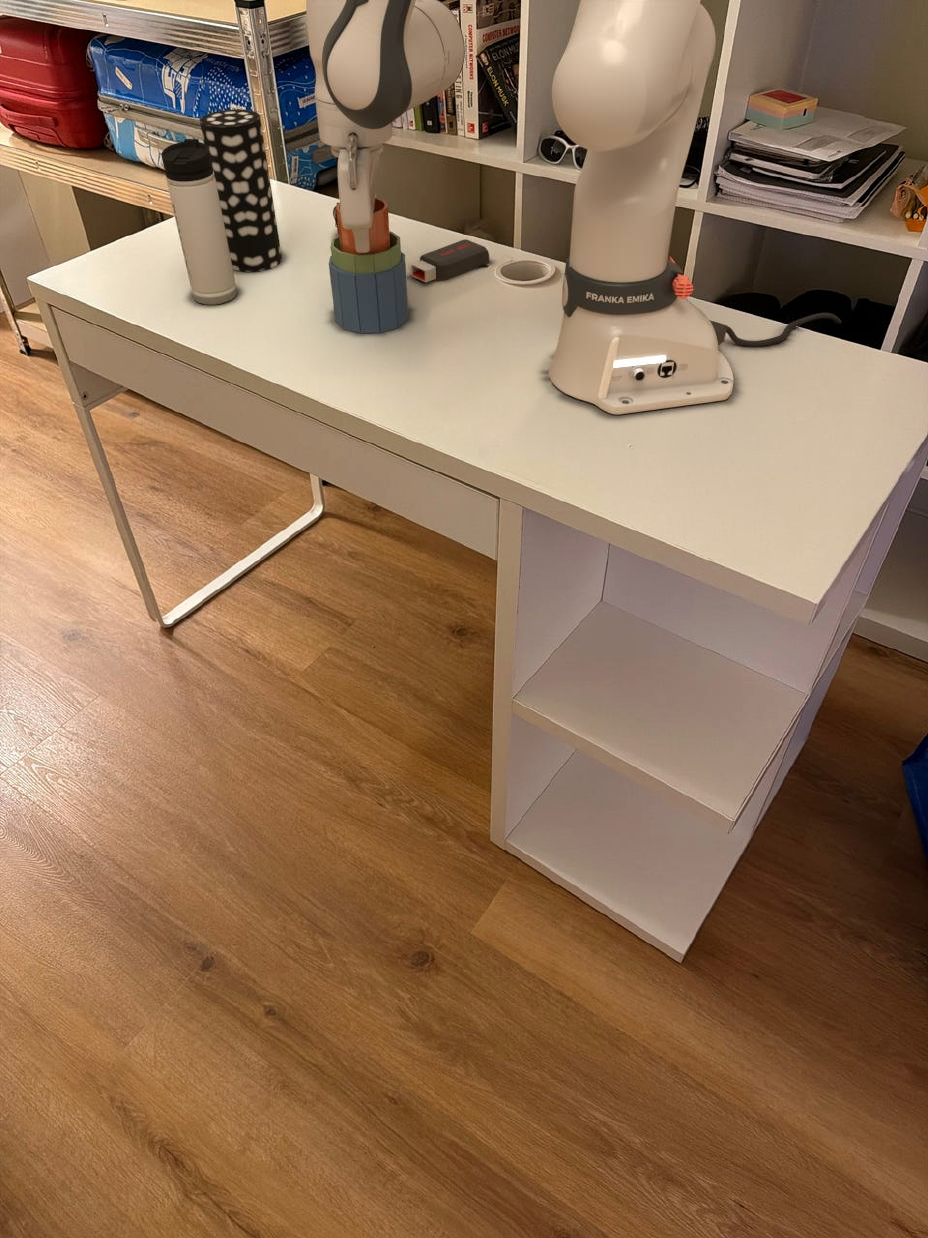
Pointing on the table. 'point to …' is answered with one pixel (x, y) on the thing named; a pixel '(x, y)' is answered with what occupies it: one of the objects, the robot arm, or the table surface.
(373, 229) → the terracotta cup
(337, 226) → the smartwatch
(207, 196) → the travel mug
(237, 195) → the spotted tube
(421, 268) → the usb drive
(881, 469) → the table surface
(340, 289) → the cup stack
